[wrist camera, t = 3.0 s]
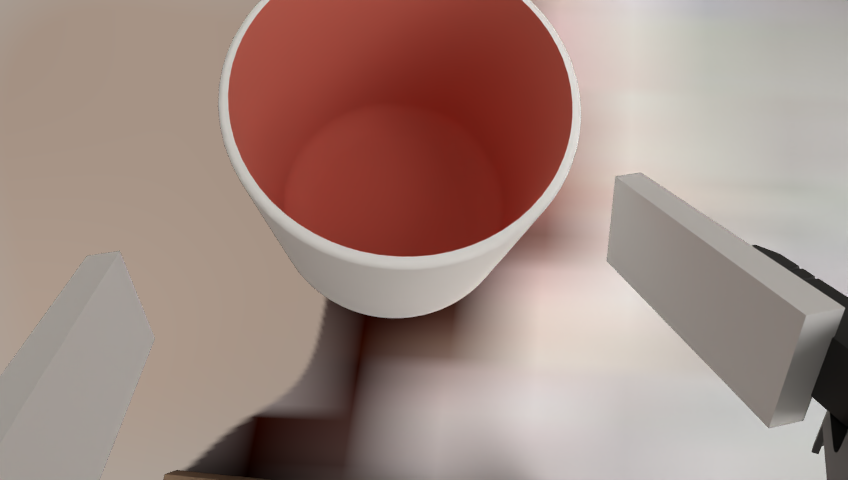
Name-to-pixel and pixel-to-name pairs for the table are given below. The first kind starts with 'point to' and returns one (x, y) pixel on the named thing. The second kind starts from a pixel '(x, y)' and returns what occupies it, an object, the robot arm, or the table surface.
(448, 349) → the table surface
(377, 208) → the cup
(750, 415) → the table surface
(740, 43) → the table surface
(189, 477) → the pen base
